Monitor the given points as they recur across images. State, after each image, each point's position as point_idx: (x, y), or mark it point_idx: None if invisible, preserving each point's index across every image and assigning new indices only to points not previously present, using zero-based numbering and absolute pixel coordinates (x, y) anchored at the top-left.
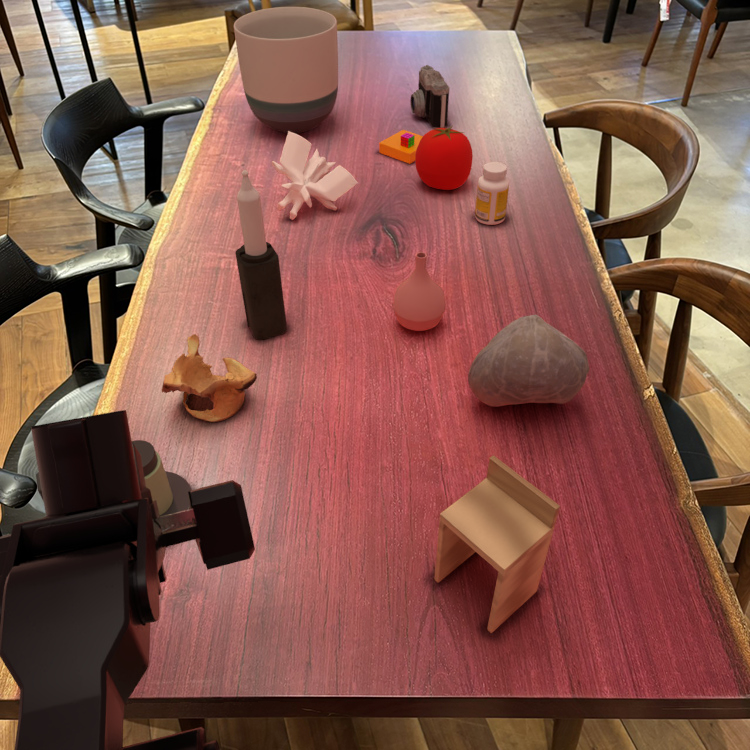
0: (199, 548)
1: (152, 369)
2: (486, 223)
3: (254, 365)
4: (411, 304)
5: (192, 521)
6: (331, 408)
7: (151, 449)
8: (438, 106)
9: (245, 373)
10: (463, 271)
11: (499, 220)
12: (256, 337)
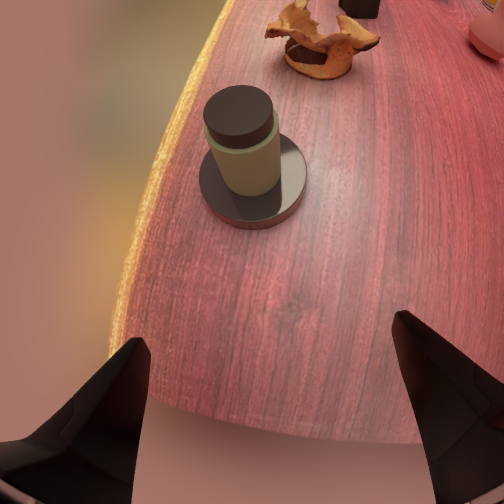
0: (440, 479)
1: (248, 27)
2: (491, 10)
3: None
4: (494, 35)
5: (452, 422)
6: (440, 97)
7: (266, 101)
8: None
9: (365, 34)
10: None
11: None
12: (350, 15)
